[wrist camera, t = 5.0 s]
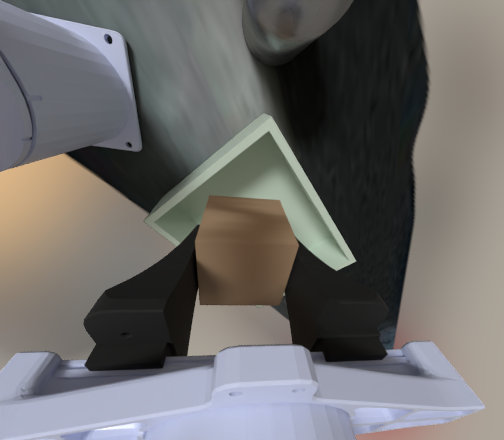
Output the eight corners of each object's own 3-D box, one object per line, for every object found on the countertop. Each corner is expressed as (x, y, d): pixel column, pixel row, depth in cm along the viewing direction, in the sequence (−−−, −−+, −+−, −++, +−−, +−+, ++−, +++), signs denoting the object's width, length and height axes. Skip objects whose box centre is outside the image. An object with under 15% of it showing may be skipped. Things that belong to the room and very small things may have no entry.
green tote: (163, 196, 20) (143, 221, 16) (263, 112, 16) (271, 116, 12) (255, 277, 28) (258, 308, 24) (335, 233, 24) (356, 261, 20)
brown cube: (210, 249, 15) (199, 304, 11) (209, 195, 13) (194, 241, 8) (268, 251, 16) (279, 305, 12) (279, 200, 13) (299, 245, 9)
